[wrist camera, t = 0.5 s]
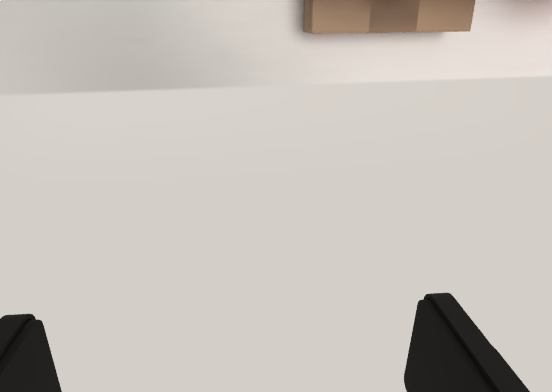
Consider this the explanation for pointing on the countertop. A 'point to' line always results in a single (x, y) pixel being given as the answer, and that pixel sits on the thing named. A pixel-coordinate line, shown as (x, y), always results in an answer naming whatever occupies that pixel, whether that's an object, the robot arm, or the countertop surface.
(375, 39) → the countertop surface
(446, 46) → the countertop surface
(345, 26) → the button block
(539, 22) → the countertop surface
